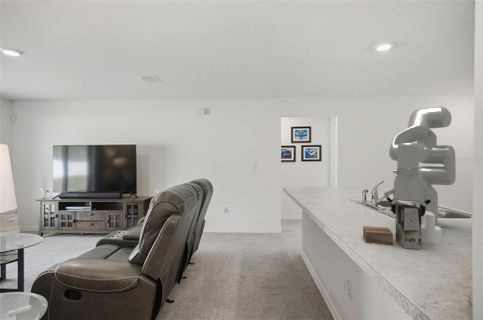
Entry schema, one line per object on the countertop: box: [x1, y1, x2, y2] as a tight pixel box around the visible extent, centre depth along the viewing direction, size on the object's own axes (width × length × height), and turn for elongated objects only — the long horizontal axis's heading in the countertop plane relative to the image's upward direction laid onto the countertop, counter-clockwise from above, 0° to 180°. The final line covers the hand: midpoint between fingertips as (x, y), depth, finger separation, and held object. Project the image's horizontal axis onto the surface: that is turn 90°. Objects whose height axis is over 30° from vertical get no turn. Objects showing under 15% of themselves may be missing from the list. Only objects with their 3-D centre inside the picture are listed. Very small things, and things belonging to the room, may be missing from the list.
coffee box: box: [395, 204, 422, 250], centre depth 105 cm, size 9×6×16 cm
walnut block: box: [362, 225, 394, 246], centre depth 111 cm, size 10×10×5 cm
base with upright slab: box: [421, 211, 443, 245], centre depth 111 cm, size 9×9×12 cm
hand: (407, 214), depth 105 cm, fingers open, 9 cm apart
